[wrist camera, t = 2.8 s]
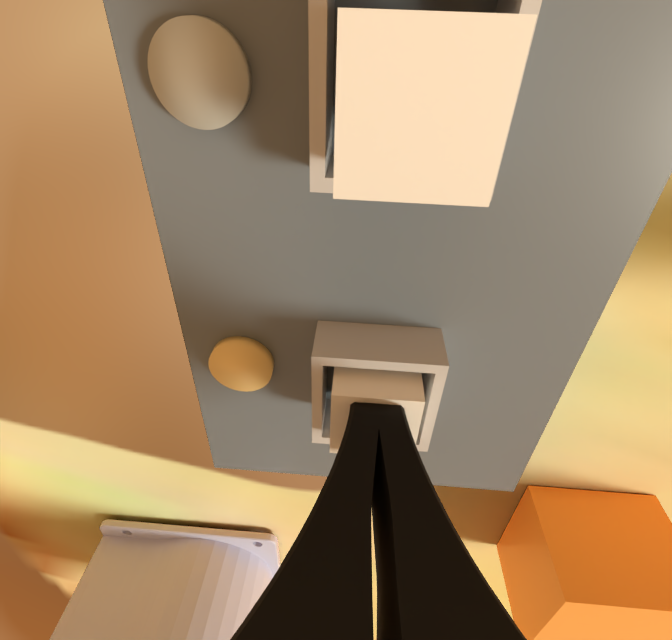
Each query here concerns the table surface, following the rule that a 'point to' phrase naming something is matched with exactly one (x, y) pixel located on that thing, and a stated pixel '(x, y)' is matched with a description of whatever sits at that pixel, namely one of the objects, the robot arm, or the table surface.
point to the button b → (425, 103)
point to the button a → (374, 396)
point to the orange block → (588, 565)
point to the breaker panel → (389, 225)
